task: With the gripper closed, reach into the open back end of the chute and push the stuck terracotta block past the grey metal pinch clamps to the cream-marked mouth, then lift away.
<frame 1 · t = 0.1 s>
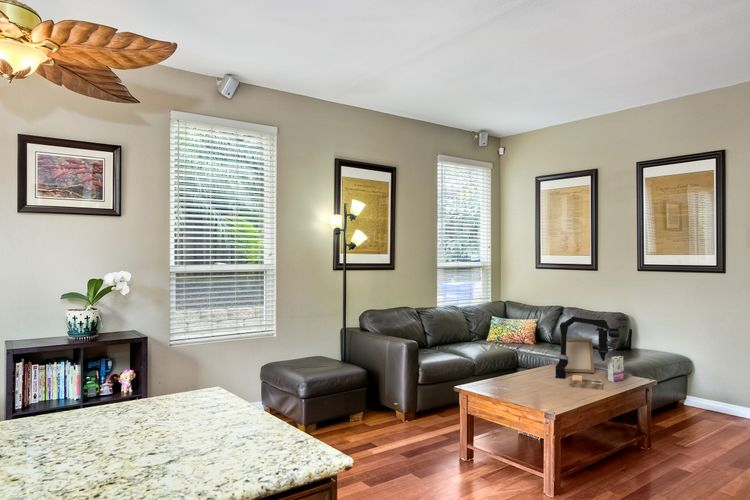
hand: (603, 359, 348), 15 cm above the table, fingers open, 9 cm apart
candy bar box: (616, 380, 348), on the table
photo frame: (576, 371, 378), on the table
block: (577, 380, 336), point 4 cm above the table, slide at 0.0 cm
chute: (585, 386, 334), on the table
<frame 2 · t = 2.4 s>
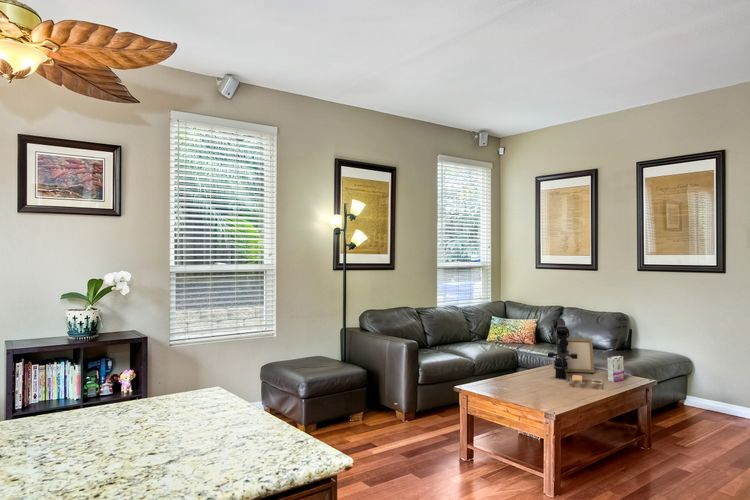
hand: (562, 368, 340), 11 cm above the table, fingers closed
nothing on the table moved.
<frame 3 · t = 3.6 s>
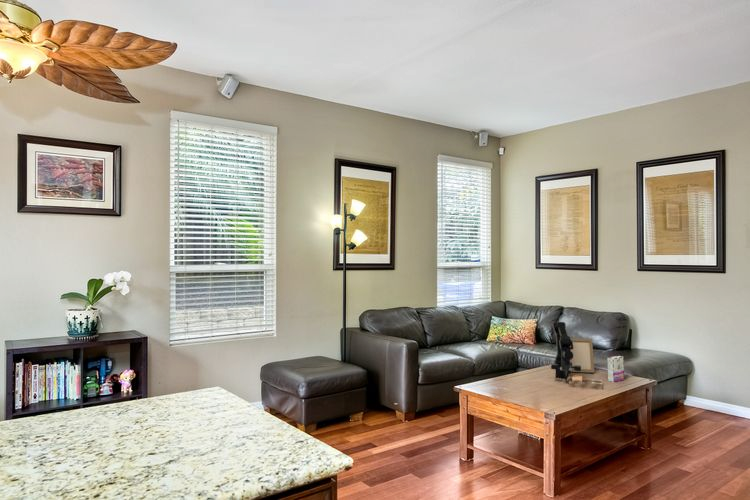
hand: (566, 380, 339), 3 cm above the table, fingers closed
nothing on the table moved.
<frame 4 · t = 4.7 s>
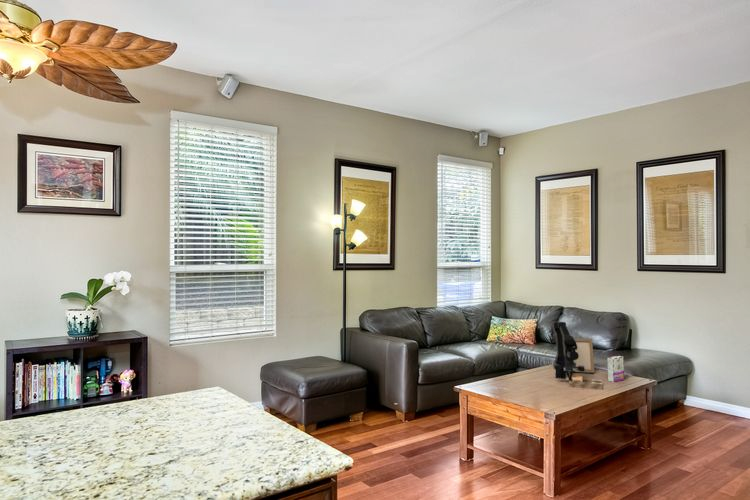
hand: (569, 380, 338), 3 cm above the table, fingers closed
block: (577, 380, 336), point 4 cm above the table, slide at 0.1 cm, touching gripper
everything else where it was.
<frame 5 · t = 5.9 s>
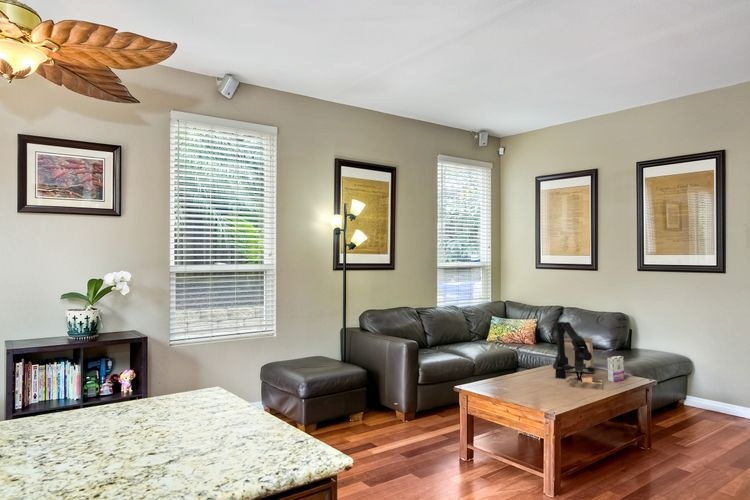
hand: (579, 381, 336), 3 cm above the table, fingers closed
block: (587, 380, 334), point 4 cm above the table, slide at 6.2 cm, touching gripper
everything else where it was.
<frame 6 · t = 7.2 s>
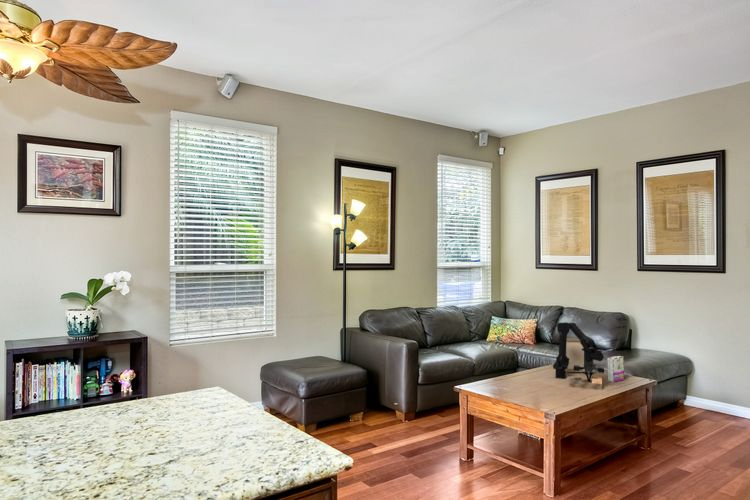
hand: (589, 381, 333), 3 cm above the table, fingers closed
block: (596, 381, 331), point 4 cm above the table, slide at 12.0 cm, touching gripper
everything else where it was.
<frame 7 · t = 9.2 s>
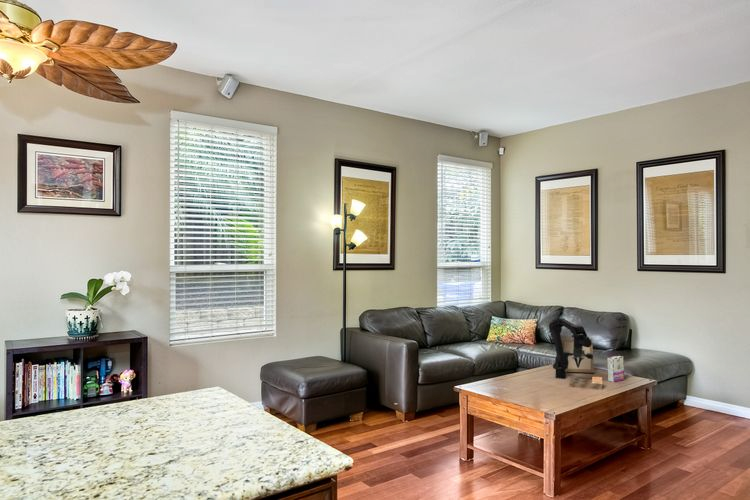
hand: (578, 367, 341), 11 cm above the table, fingers closed
block: (597, 381, 331), point 4 cm above the table, slide at 12.3 cm
everything else where it was.
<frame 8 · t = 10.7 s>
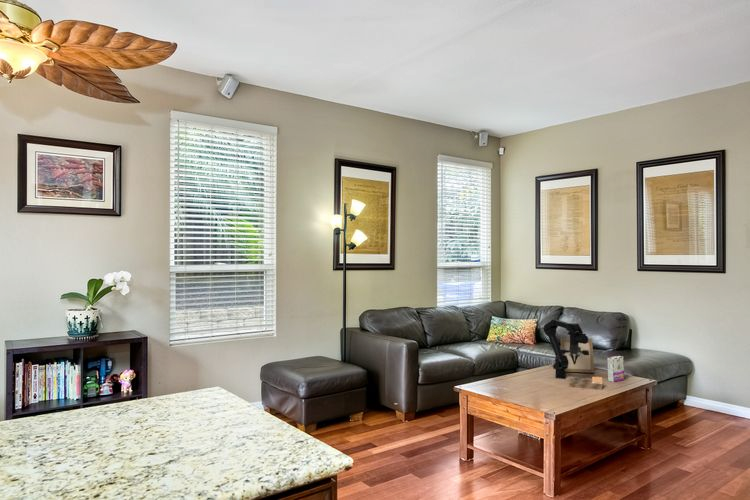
hand: (574, 364, 346), 12 cm above the table, fingers closed
nothing on the table moved.
at the end: block slide at 12.3 cm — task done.
